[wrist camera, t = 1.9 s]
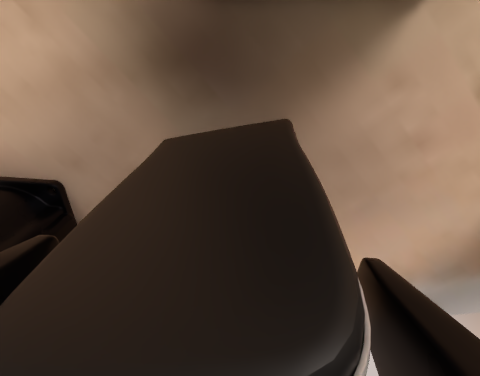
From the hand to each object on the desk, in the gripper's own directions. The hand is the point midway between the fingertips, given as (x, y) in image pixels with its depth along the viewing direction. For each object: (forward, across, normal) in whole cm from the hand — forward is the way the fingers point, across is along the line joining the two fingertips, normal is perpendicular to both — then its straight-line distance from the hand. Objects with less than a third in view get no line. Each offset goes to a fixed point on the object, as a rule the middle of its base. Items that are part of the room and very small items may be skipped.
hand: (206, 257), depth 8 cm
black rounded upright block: (+7, 0, 0) cm, 7 cm away
